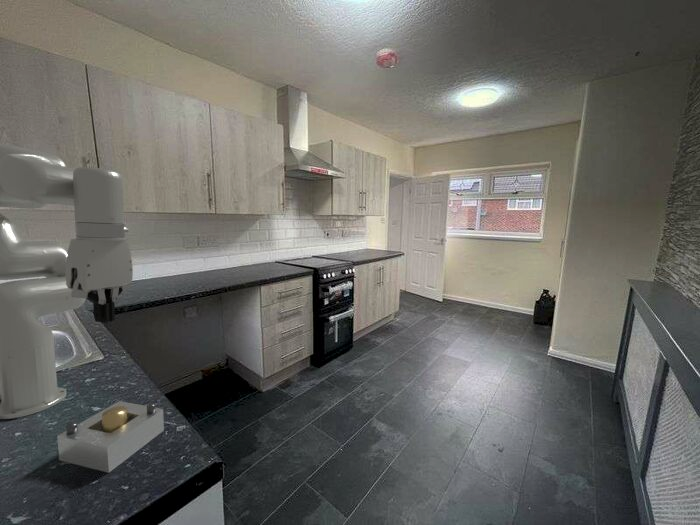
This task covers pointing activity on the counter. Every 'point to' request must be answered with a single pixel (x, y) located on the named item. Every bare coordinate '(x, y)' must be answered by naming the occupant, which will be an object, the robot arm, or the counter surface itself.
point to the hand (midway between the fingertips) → (104, 320)
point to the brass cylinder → (114, 419)
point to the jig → (110, 437)
